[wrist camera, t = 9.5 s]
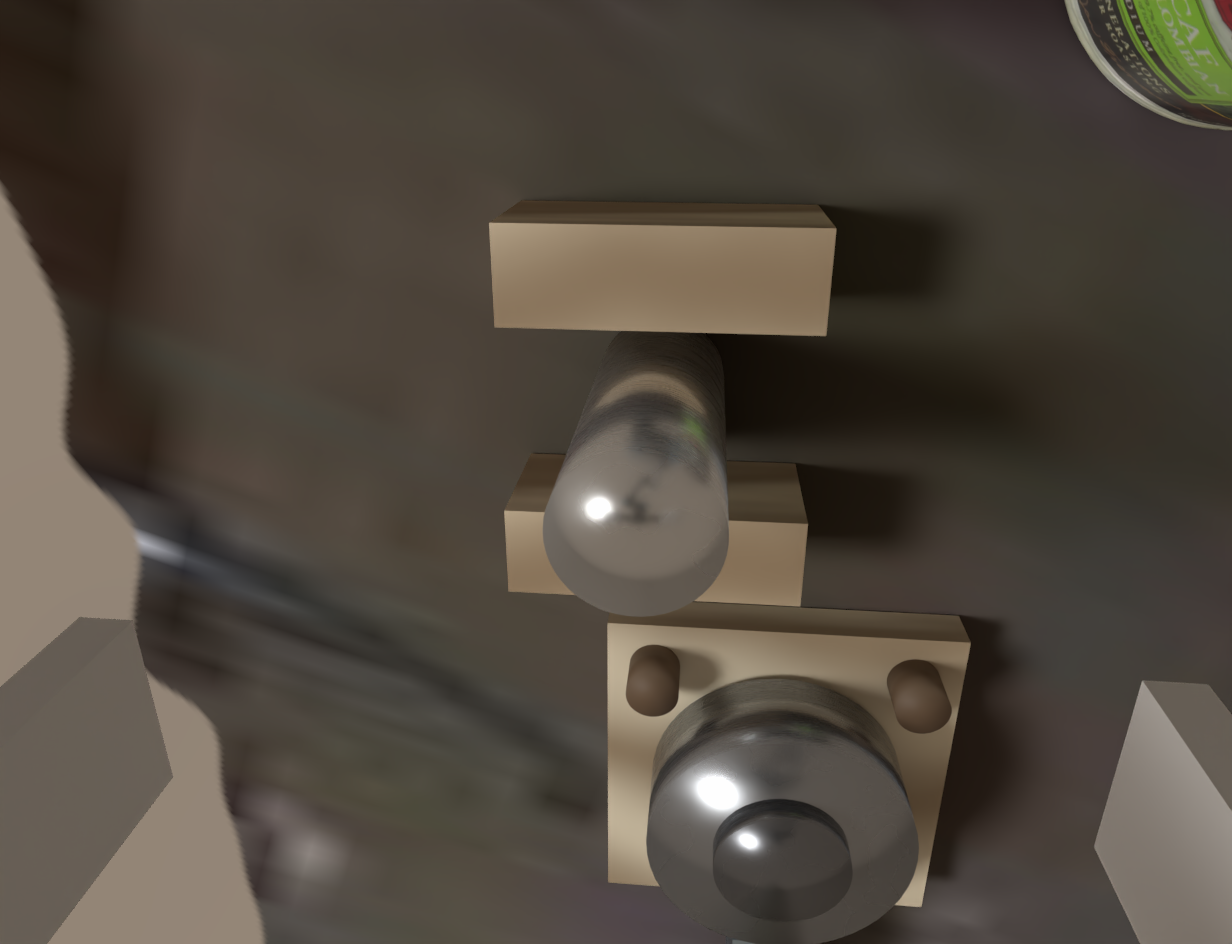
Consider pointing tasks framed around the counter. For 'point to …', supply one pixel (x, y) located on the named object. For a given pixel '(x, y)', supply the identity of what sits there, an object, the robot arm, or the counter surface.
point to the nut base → (780, 649)
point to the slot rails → (669, 302)
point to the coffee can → (1163, 54)
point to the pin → (645, 479)
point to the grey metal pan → (779, 814)
